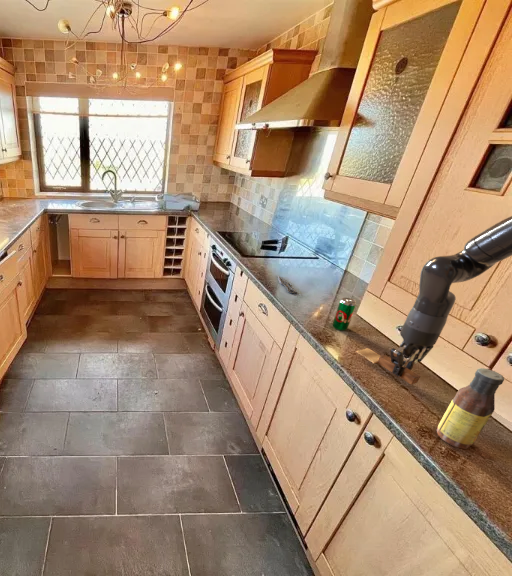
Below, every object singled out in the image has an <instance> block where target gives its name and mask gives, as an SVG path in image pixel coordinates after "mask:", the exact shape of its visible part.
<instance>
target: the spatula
mask: <svg viewBox="0 0 512 576" xmlns="http://www.w3.org/2000/svg"><path fill="white" fill-rule="evenodd" d="M356 353H357V354H358V355H359V356H362V358H364V359H366V360H368V361H369V362H371V363H372V364H378V365H380V366H381V367H383V368H385V369H386V370H388V371H389V372H391V373H392V371H393V369H394V367H395V365H396V364H394V363H392V362H391V356H388V355H386V354H384V355H380V354H378V353H377V352H375V351H374V350H372V349H370V348H369V347H367V348H363V349H359V350H356ZM399 378H400V379H402V380H403V381H405V382H406V383H408V384H409V385H415V384H418V382H419V380H420V378H421V375H420V374H418V373H416V372H415V371H413V370H412V369H411V370H409V369H408V368H405V370H404V372H403V374H402V376H400V377H399Z"/></svg>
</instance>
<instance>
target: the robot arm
mask: <svg viewBox="0 0 512 576" xmlns="http://www.w3.org/2000/svg"><path fill="white" fill-rule="evenodd" d="M510 257H512V215H511V216H508V217H506V218H504V219H502V220H500V221H499V222H496V223H495V224H493V225H491V226H490V227H488V228H486V229H485V230H483V231H482V232H480V233H478V234H477V235H475V236H473V237H472V238H471V239H469V240H468V241H467V242H466V243H465V244H464V247H463V249H462V250H461V251H459V252H457V253H454V254H447V255H439V256H434V257H432V258H430V259H429V260H427V261H426V263H425V264H424V265H423V266H422V269H421V271H420V275H419V276H420V277H419V285H418V286H419V287H418V291H419V293H418V295H417V297H416V299H415V301H414V304H413V306H412V307H411V309H410V310H409V312H408V313H407V316H406V317H405V318H406V319H405V320H404V323H403V325H402V328H401V330H400V331H399V334H400V337H401V338H402V339H403V340H402V342H401V343H399V344H400V345H399V347H398V348H397V349H396V348H394V347H393V348H391V349H390V358H391V362H392V363H394V364H396V365H395V367H394V369H393V371H392V372H391V373H392V374H393V375H395V376H396V377H397V378H400V376H402V374H403V372H404V370H405V368H408V369H409V370H411V371H412V369H413V367H414V366H415V365H417V363H421V362H422V361H423V360H424V359H425V357H426V356H427V355H428V354H429V353H430V352H431V350H432V349H433V348H434V346H435V345H436V343H437V341H438V339H439V337H440V335H441V334H442V331H443V330H444V328H445V326H446V324H447V321H448V317H449V316H450V314H451V312H452V309H453V307H454V305H455V303H456V299H457V298H456V295H455V293H453V292H452V291H451V289H450V288H451V286H452V284H457V283H463V282H467V281H470V280H473V279H474V278H477V277H479V276H481V275H482V274H484V273H485V272H487V271H488V270H490V269H491V268H493V266H495V265H496V264H497V263H499V262H501V261H503V260H505V259H508V258H510Z"/></svg>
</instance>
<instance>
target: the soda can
mask: <svg viewBox="0 0 512 576" xmlns="http://www.w3.org/2000/svg"><path fill="white" fill-rule="evenodd" d="M356 302H357V301H356V300H355V299H354V298H351V297H342V298H341V299H339V302H338V305H337V308H336V312H335V315H334V318H333V320H332V327H333V328H334V329H335V330H337V331H340V332H342V331H347V330H348V329H349V326H350V324H351V321H352V318H353V315H354V312H355V309H356V306H357V303H356Z"/></svg>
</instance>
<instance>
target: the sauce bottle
mask: <svg viewBox="0 0 512 576" xmlns="http://www.w3.org/2000/svg"><path fill="white" fill-rule="evenodd" d="M504 381H505V377H504V376H503V375H502V374H501V373H499V372H497V371H495V370H491V369H489V368H483V367H481V368H480V367H479V368H477V369H476V371H475V373H474V377H473V378H472V381H471V382H470V383H469V384H468V385H466V386H463V387H460V388H458V391H457V392H456V393H455V395H454V397H453V398H452V400H451V401H450V403H449V405H448V406H447V408H446V411H445V412H444V414H443V416H442V418H441V419H440V421H439V423H438V425H437V427H436V433H437V436H438V437H439V438H440V439H441V440H443V441H444V442H445V443H446V444H448V445H451V446H452V447H456V448H459V449H464V450H465V449H469V448H470V447H471V446H472V445H473V444H475V442H476V440H477V439H478V437H479V436H480V435H481V433H482V431H483V429H484V427H485V426H486V425H487V423H488V422H489V420H490V418H491V417H492V415H493V414H494V412H495V407H496V406H495V404H496V403H495V394H496V393H497V390H498V388H499V387H500V386H501V385H503V383H504Z"/></svg>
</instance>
